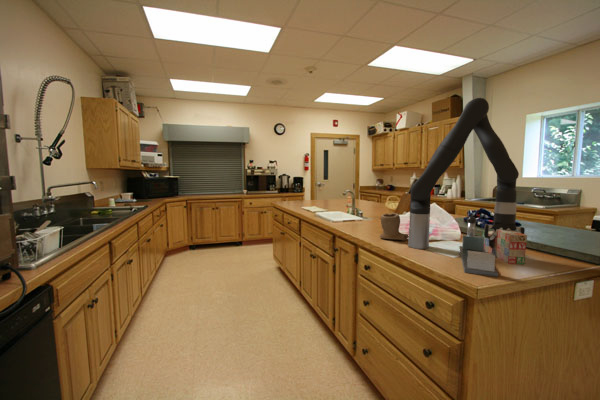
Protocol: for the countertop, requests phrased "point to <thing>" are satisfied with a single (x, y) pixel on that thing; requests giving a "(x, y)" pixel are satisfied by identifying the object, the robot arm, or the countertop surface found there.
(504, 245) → the stack of blocks
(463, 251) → the vise bed
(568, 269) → the countertop surface
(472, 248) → the sliding jaw
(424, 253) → the countertop surface
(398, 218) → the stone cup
